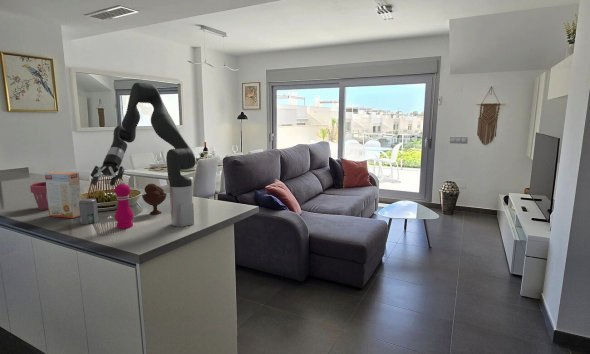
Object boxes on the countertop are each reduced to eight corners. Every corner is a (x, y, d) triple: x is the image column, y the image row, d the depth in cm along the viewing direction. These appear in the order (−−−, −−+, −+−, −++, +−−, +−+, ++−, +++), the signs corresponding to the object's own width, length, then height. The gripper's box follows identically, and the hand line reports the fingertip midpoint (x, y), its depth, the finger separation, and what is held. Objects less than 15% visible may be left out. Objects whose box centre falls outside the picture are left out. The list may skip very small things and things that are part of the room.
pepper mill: (129, 223, 151) (126, 178, 148) (137, 226, 147) (134, 180, 144) (112, 226, 146) (108, 180, 143) (120, 230, 141) (116, 182, 138)
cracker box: (83, 215, 163) (79, 172, 159) (72, 218, 157) (67, 174, 154) (60, 213, 166) (56, 170, 163) (48, 216, 161) (44, 172, 157)
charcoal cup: (100, 220, 155) (99, 198, 154) (92, 224, 149) (90, 202, 147) (87, 219, 155) (85, 198, 154) (77, 224, 149) (75, 201, 147)
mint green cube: (96, 222, 152) (95, 213, 152) (86, 224, 149) (85, 215, 149) (92, 220, 155) (92, 211, 154) (83, 222, 152) (82, 213, 151)
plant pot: (62, 209, 173) (59, 185, 171) (28, 212, 167) (25, 186, 165) (69, 203, 186) (66, 180, 184) (38, 205, 181) (35, 181, 179)
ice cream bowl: (159, 217, 161) (157, 185, 159) (138, 215, 163) (136, 184, 161) (171, 211, 171) (170, 182, 169) (151, 210, 174) (150, 181, 171)
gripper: (96, 153, 168) (83, 180, 159) (125, 153, 168) (113, 180, 158) (103, 162, 174) (91, 189, 165) (131, 163, 174) (120, 189, 164)
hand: (102, 184), depth 161 cm, fingers open, 8 cm apart
